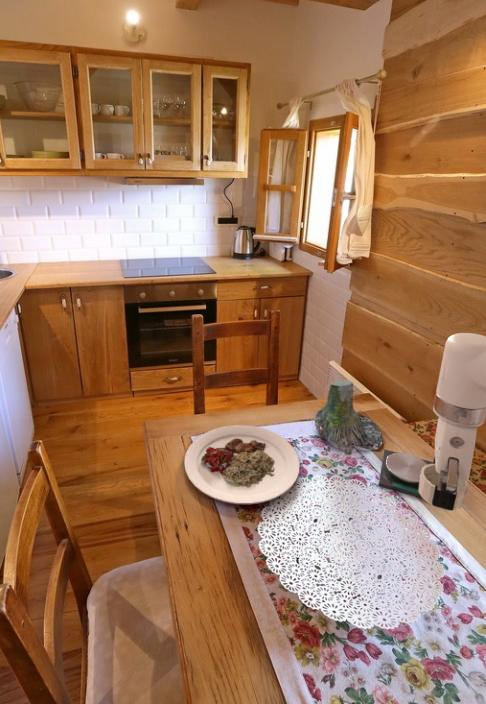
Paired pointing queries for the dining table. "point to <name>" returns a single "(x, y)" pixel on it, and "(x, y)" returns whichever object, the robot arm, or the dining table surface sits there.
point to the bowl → (431, 479)
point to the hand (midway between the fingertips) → (441, 490)
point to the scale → (397, 479)
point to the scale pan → (405, 467)
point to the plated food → (241, 464)
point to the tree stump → (346, 421)
